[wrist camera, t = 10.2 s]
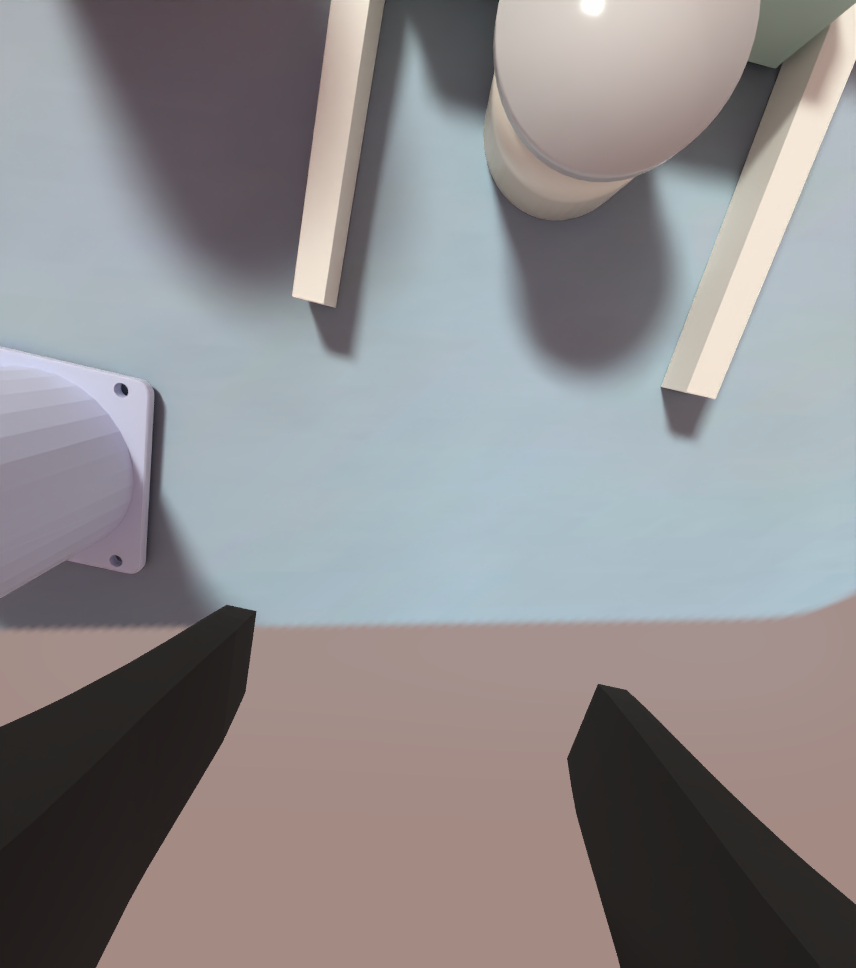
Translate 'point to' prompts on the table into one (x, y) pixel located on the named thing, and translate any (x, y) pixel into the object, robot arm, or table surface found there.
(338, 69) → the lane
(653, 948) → the robot arm
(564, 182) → the jar
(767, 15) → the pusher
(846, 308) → the table surface
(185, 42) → the table surface
